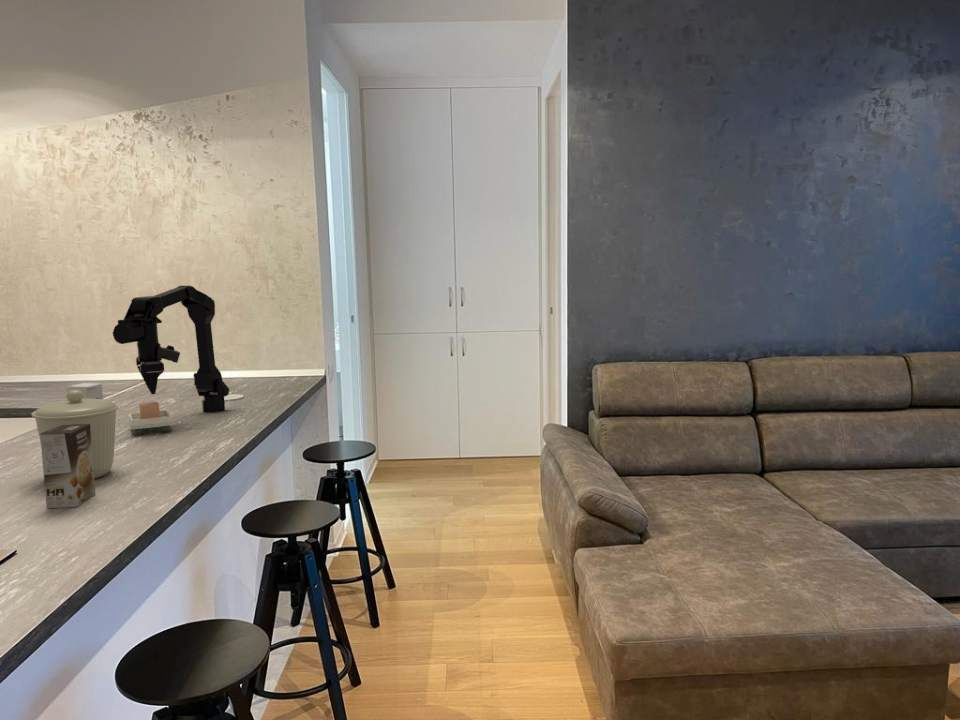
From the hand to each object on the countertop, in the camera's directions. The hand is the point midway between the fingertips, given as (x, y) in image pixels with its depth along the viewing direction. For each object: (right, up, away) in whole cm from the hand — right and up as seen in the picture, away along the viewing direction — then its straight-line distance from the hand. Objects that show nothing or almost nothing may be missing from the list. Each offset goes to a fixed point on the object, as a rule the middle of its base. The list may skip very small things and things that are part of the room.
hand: (151, 391), depth 217 cm
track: (+4, -12, +2) cm, 13 cm away
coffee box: (+10, -21, -60) cm, 65 cm away
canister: (+2, -19, -42) cm, 46 cm away
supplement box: (-28, -11, +16) cm, 34 cm away
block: (0, -9, -1) cm, 9 cm away
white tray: (0, -12, -1) cm, 12 cm away
